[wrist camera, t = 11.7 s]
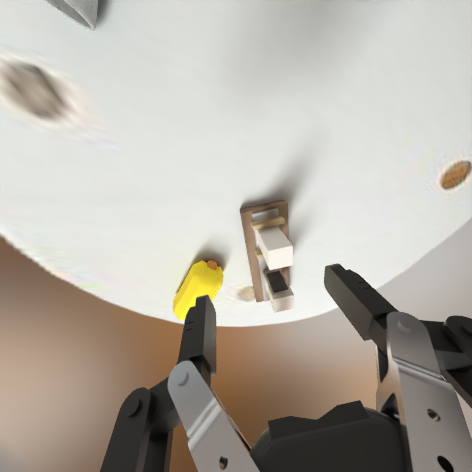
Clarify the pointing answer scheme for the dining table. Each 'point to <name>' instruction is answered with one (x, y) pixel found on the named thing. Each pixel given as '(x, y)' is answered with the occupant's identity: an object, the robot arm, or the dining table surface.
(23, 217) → the dining table surface
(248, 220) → the wooden ladder shelf
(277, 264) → the loose white rectangular block
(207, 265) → the yellow faceted pepper
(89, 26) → the ceramic mug
